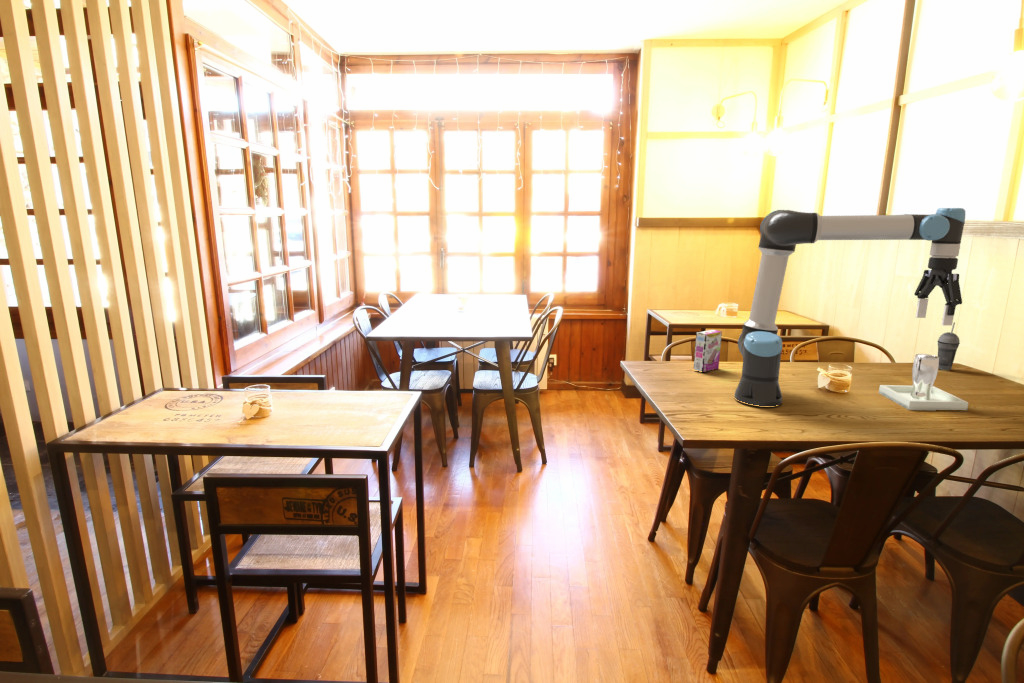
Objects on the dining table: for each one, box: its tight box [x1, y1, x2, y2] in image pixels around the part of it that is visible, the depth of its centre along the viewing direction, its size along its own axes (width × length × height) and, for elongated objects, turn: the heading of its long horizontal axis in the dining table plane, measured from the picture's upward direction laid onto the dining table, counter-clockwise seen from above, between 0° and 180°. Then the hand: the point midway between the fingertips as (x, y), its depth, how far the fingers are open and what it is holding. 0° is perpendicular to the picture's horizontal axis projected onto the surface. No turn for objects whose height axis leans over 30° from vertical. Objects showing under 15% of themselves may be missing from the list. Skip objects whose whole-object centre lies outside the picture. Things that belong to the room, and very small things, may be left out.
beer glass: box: [910, 353, 939, 401], centre depth 191 cm, size 7×7×15 cm
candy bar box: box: [693, 329, 723, 373], centre depth 231 cm, size 11×5×16 cm, turn 126°
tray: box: [878, 384, 969, 412], centre depth 192 cm, size 18×18×3 cm
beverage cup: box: [937, 321, 961, 371], centre depth 229 cm, size 7×7×20 cm
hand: (933, 321), depth 186 cm, fingers open, 13 cm apart
